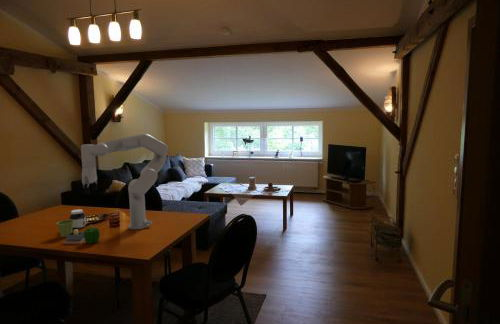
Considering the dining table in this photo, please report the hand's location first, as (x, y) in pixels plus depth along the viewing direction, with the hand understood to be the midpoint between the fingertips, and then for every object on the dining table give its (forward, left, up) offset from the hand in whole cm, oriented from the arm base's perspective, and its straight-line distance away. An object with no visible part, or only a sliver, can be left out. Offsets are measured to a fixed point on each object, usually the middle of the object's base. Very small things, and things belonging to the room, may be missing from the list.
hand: (90, 192), depth 202 cm
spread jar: (+17, -12, -27) cm, 34 cm away
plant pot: (+15, +4, -26) cm, 31 cm away
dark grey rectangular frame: (+4, +13, -25) cm, 29 cm away
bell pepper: (-7, +16, -26) cm, 32 cm away
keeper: (+4, +13, -26) cm, 30 cm away
